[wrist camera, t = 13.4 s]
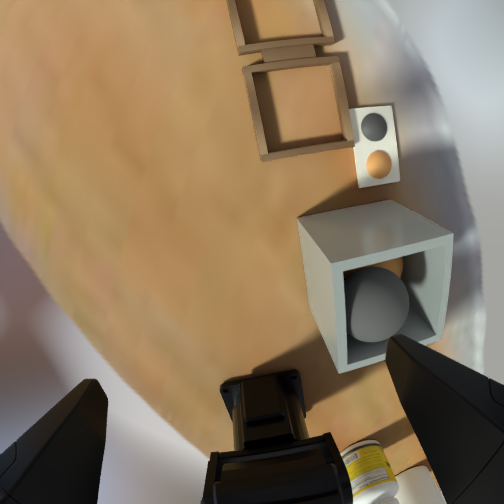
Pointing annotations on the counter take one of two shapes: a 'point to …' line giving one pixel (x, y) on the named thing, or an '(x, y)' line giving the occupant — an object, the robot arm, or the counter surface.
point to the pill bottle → (417, 487)
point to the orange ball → (391, 265)
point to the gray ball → (375, 304)
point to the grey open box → (370, 252)
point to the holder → (289, 57)
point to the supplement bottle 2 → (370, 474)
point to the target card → (375, 146)
